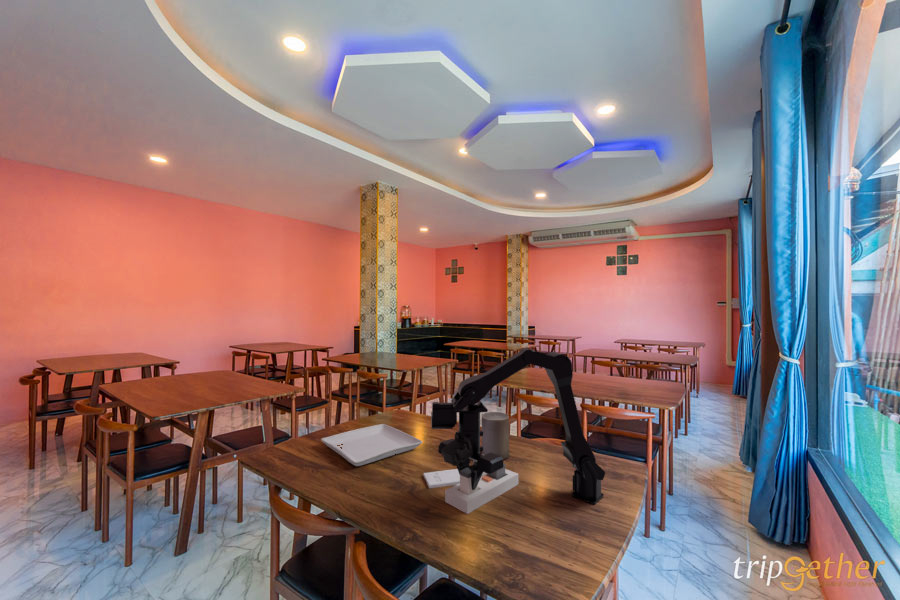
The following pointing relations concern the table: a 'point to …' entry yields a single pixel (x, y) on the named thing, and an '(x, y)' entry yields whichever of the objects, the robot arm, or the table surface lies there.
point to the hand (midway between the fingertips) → (469, 487)
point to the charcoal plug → (498, 473)
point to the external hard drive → (442, 478)
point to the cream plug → (466, 482)
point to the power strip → (481, 491)
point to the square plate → (371, 443)
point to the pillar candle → (495, 434)
